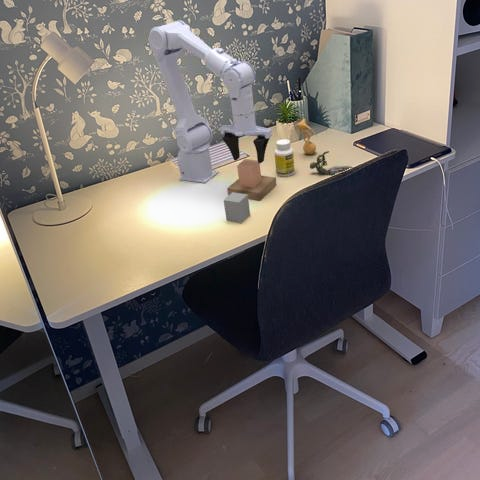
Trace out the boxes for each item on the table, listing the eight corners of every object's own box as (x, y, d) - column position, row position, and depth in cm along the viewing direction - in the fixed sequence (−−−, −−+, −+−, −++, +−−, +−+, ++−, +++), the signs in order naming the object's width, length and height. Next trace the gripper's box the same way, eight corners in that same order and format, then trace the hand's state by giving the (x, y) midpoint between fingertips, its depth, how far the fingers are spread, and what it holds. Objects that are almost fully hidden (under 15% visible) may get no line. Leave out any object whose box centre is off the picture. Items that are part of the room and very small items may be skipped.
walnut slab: (228, 197, 152) (227, 188, 150) (246, 182, 159) (245, 173, 157) (260, 202, 147) (258, 192, 145) (276, 187, 154) (275, 177, 153)
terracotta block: (239, 185, 151) (237, 165, 148) (247, 178, 154) (245, 159, 151) (254, 187, 149) (251, 167, 146) (261, 180, 152) (259, 160, 149)
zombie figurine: (361, 156, 148) (307, 156, 153) (362, 178, 152) (309, 178, 156) (363, 148, 152) (310, 148, 157) (364, 170, 156) (312, 170, 161)
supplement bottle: (288, 178, 157) (285, 146, 152) (272, 175, 160) (269, 143, 155) (298, 171, 160) (296, 139, 155) (282, 168, 163) (280, 137, 158)
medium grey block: (226, 220, 140) (223, 200, 136) (235, 212, 143) (232, 192, 140) (241, 223, 137) (238, 202, 134) (250, 215, 141) (247, 194, 138)
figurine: (324, 154, 169) (322, 116, 162) (312, 161, 165) (310, 123, 159) (303, 149, 174) (301, 112, 168) (291, 155, 171) (288, 118, 164)
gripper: (211, 115, 142) (218, 163, 149) (260, 119, 135) (265, 169, 142) (225, 106, 147) (231, 153, 154) (273, 109, 140) (277, 158, 147)
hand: (248, 160), depth 148 cm, fingers open, 7 cm apart
